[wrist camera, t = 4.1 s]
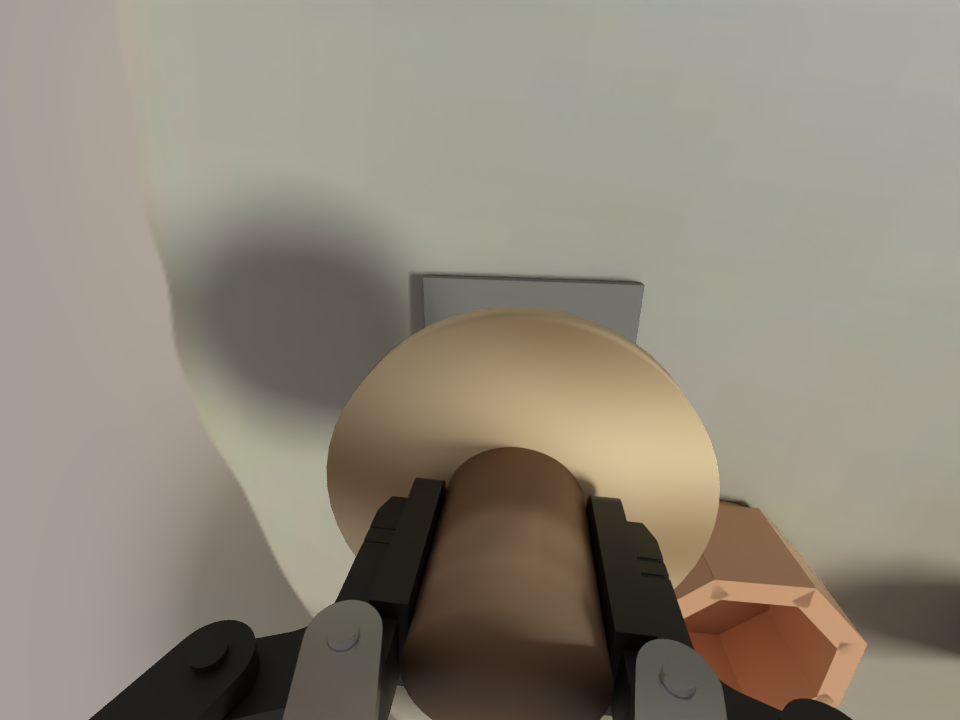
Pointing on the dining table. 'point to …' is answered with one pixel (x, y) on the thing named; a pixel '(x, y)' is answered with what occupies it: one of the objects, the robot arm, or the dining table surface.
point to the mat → (536, 298)
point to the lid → (520, 498)
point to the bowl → (766, 615)
